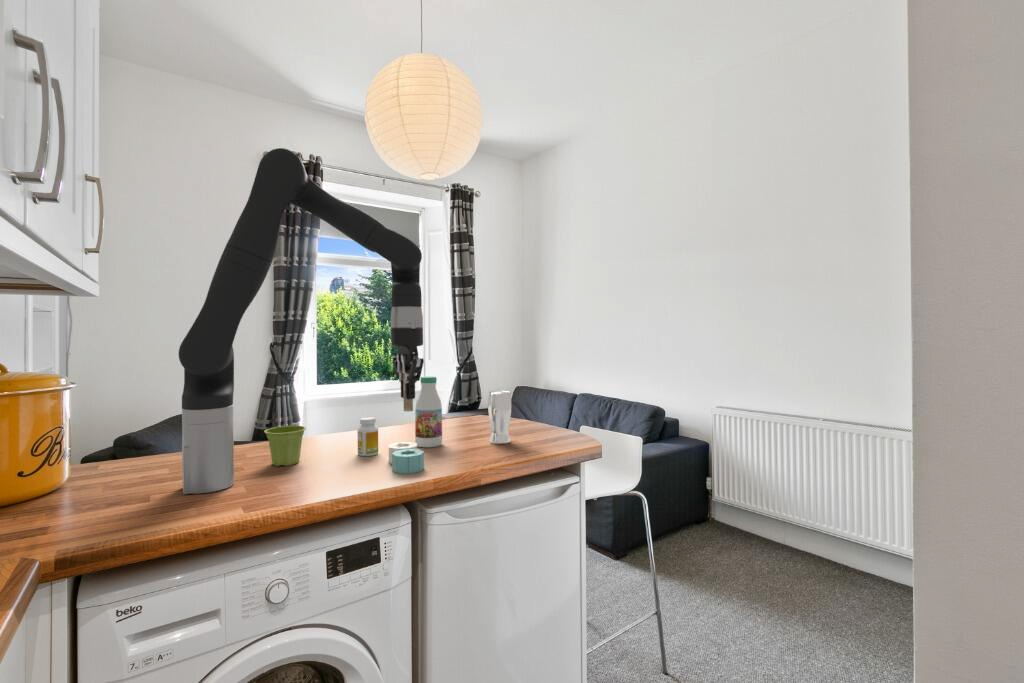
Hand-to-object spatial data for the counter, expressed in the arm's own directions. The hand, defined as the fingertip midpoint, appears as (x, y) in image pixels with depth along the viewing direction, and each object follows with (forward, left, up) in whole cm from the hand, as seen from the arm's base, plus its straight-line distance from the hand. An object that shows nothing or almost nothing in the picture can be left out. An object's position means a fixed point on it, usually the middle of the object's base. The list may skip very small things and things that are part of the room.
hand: (408, 397), depth 116 cm
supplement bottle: (-3, +20, -17) cm, 27 cm away
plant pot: (-23, +23, -17) cm, 37 cm away
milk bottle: (+15, +20, -17) cm, 30 cm away
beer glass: (+34, +11, -17) cm, 40 cm away
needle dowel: (0, 0, -3) cm, 3 cm away
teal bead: (0, 0, -17) cm, 17 cm away
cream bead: (+2, +8, -17) cm, 19 cm away
